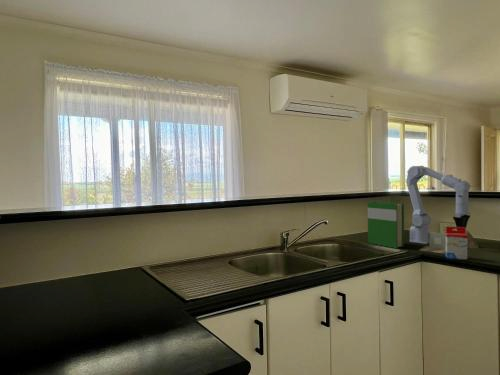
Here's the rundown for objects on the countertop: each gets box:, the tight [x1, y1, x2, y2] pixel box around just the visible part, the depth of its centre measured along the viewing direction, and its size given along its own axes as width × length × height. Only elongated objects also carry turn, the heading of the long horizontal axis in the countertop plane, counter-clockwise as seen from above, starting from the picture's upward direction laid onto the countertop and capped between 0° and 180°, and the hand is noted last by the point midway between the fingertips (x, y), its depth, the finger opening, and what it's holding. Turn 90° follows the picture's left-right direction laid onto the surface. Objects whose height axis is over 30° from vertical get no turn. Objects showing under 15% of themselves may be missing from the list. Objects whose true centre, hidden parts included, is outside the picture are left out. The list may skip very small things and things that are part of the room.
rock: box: [465, 229, 479, 249], centre depth 189 cm, size 11×9×10 cm
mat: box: [418, 245, 446, 254], centre depth 185 cm, size 13×12×1 cm
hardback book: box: [367, 201, 405, 249], centre depth 198 cm, size 18×7×24 cm, turn 37°
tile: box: [428, 231, 446, 250], centre depth 187 cm, size 8×2×8 cm, turn 46°
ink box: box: [445, 226, 468, 260], centre depth 167 cm, size 8×5×15 cm, turn 68°
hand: (461, 229), depth 188 cm, fingers open, 7 cm apart
